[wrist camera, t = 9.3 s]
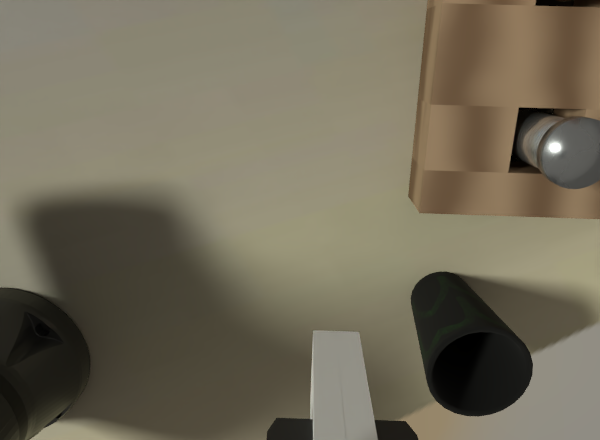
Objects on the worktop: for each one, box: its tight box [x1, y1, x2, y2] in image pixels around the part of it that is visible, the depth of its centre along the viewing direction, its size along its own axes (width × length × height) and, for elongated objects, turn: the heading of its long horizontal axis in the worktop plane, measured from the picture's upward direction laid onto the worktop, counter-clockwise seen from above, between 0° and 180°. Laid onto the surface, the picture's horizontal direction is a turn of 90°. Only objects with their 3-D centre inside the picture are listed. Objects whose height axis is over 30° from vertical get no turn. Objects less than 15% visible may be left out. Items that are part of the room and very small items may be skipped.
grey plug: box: [511, 110, 600, 189], centre depth 38 cm, size 5×5×9 cm
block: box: [408, 0, 600, 219], centre depth 39 cm, size 18×24×5 cm
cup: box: [411, 272, 533, 416], centre depth 43 cm, size 8×8×12 cm
